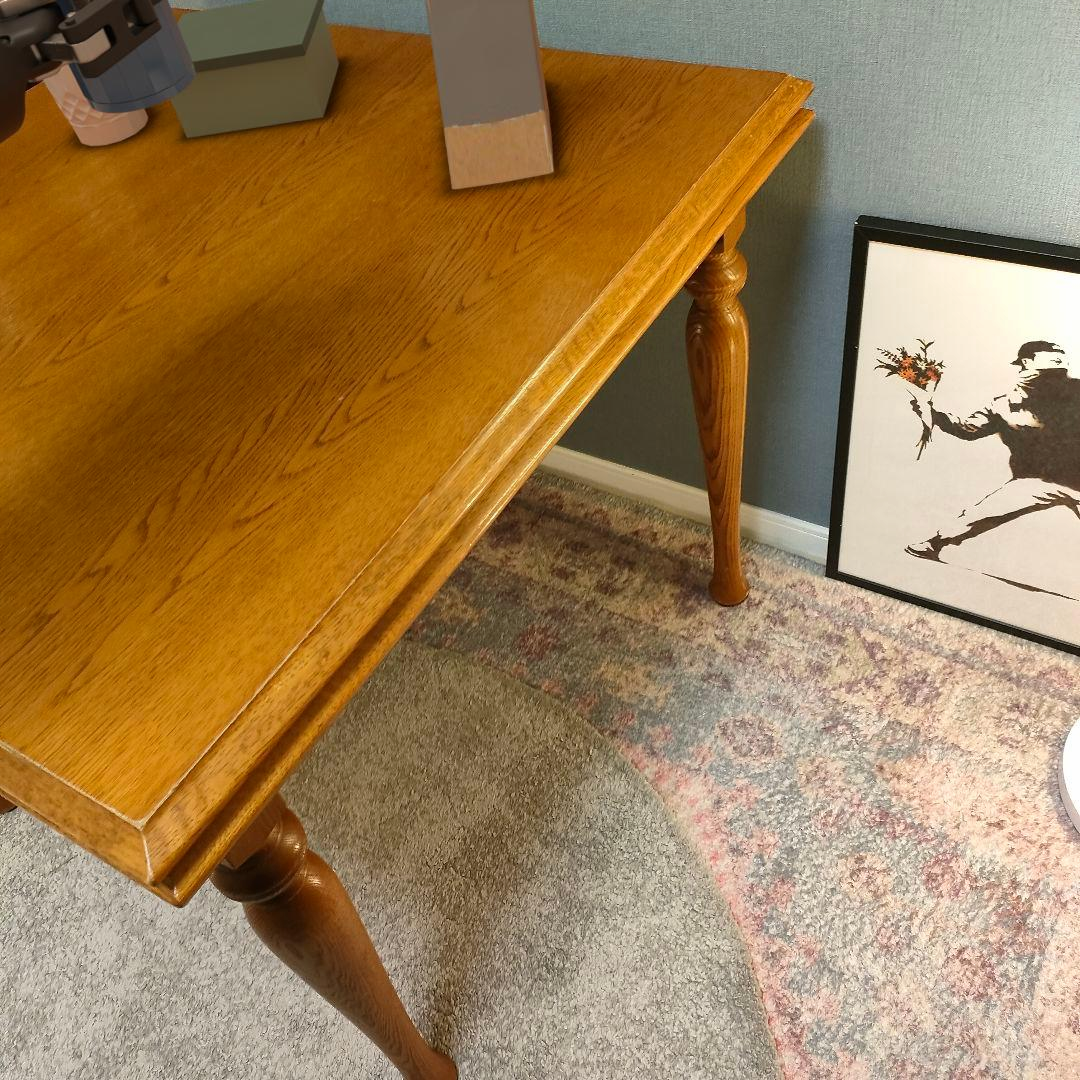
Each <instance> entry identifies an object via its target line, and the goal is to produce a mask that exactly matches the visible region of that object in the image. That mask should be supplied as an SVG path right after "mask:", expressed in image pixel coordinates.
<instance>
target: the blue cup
mask: <svg viewBox="0 0 1080 1080" xmlns="http://www.w3.org/2000/svg"><path fill="white" fill-rule="evenodd" d="M92 1H94V0H90V3H91V2H92ZM56 2H57V3H58V4H59V6H60V7H61V9H62V11H63V13H64V15H65V17H66V19H68V18H67V15H68V14H69V13H71V12H74V10H73V8H72V6H71V4H70V1H69V0H56ZM153 7H154V10H155V12H156V15H157V17H158V19H159V22H160V24H161V27H162V28H161V29H160V30H159V31H158V32H157V33H155V34H154V35H153V36H152V37H150V38H149V39H148V40H146V41H145V42H144V43H142V44H141V45H140V46H139V47H137V48H136V49H135V50H133V51H132V52H131V53H129V54H128V55H127V56H126V57H124V58H123V59H122V60H120V61H119V62H118V63H116V64H115V65H114V66H113V67H111V68H110V69H109V70H107V71H106V72H105V73H103V74H102V75H100V76H99V77H97V78H90V79H86V78H83V76H82V74H81V72H80V70H79V68H78V66H77V64H76V62H73V63H70V64H68V65H69V67H70V69H71V71H72V73H73V75H74V77H75V79H76V81H77V83H78V85H79V87H80V89H81V91H82V93H83V95H84V97H85V98H86V100H87V102H88V104H89V105H90V107H91V108H93V109H94V110H96V111H99V112H103V113H125V112H131V111H137V110H141V109H145V110H146V109H147V108H151V107H154V106H157V105H160V104H161V103H164V102H166V101H168V100H170V98H172V97H174V96H176V95H177V94H179V93H180V92H182V91H183V90H184V89H186V88H187V87H188V86H189V85H190V84H191V83H192V81H193V80H194V78H195V75H196V70H195V67H194V65H193V62H192V59H191V57H190V54H189V52H188V49H187V47H186V44H185V42H184V39H183V37H182V34H181V32H180V29H179V27H178V24H177V23H178V21H177V19H176V17H175V14H174V12H173V10H172V7H171V4H170V1H169V0H162V1H160V2H159V3H157V4H156V5H154V6H153Z"/></svg>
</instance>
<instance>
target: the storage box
mask: <svg viewBox="0 0 1080 1080" xmlns="http://www.w3.org/2000/svg"><path fill="white" fill-rule="evenodd" d="M324 3H325V0H256V1H251V2H244V3H237V4H233V5H226V6H220V7H214V8H208V9H203V10H197V11H191V12H184V13H182V15H180V18H179V19H178V21H177V24H178V27H179V29H180V32H181V34H182V37H183V39H184V42H185V44H186V47H187V49H188V52H189V54H190V57H191V59H192V62H193V65H194V67H195V70H196V75H195V78H194V80H193V81H192V83H191V84H190V85H189V86H188V87H187V88H186V89H184V90H183V91H182V92H180V93H179V94H177V95H176V96H174V97H172V98H170V99H169V100H170V102H171V104H172V106H173V109H174V110H175V113H176V116H177V118H178V120H179V123H180V125H181V126H182V129H183V131H184V134H185V136H186V138H187V139H190V138H197V137H203V136H209V135H217V134H223V133H230V132H236V131H241V130H249V129H255V128H261V127H269V126H275V125H281V124H289V123H294V122H295V123H296V122H301V121H307V120H315V119H320V118H324V116H325V114H326V113H325V112H326V109H327V105H328V103H329V99H330V96H331V93H332V89H333V86H334V82H335V78H336V75H337V72H338V69H339V66H340V62H339V59H338V56H337V53H336V49H335V46H334V42H333V39H332V36H331V32H330V30H329V26H328V22H327V19H326V15H325V13H324V9H323V6H324Z"/></svg>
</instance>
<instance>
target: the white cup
mask: <svg viewBox="0 0 1080 1080" xmlns="http://www.w3.org/2000/svg"><path fill="white" fill-rule="evenodd" d="M42 82H43V83H44V85H45V87H46V88H47V90H48V92H49V93H50V95H51V96H52V97H53V100H54V102H55V103H56V105H57V106H58V108H59V110H60V111H61V113H62V114H63V116H64V118H66V120H68V123H69V124H70V125H71V127H72V129H73V131H74V133H75V134H76V136H77V138H78V140H79V142H80V143H81V144H83V145H86V146H90V147H98V146H107V145H112V144H115V143H118V142H122V141H123V140H126V139H129V138H130V137H132V136H134V135H136V134H137V133H138V132H140V131H141V130H142V129H143V128H145V126H146V125H147V122H148V120H149V116H148V114H147V111H146V108H145V109H141V110H137V111H131V112H125V113H103V112H99V111H96V110H94V109H93V108H91V107H90V105H89V104H88V102H87V100H86V98H85V97H84V95H83V93H82V91H81V89H80V87H79V85H78V83H77V81H76V79H75V77H74V75H73V73H72V71H71V69H70V67H69V65H68V64H67V65H65V66H63V67H61V69H60V71H59V73H58V74H56V75H54V76H51V77H49V78H46V79H44V80H42Z"/></svg>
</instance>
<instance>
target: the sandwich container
mask: <svg viewBox="0 0 1080 1080" xmlns="http://www.w3.org/2000/svg"><path fill="white" fill-rule="evenodd" d="M424 1H425V2H424V3H425V10H426V15H427V23H428V30H429V38H430V43H431V50H432V57H433V58H432V59H433V65H434V70H435V71H434V72H435V78H436V84H437V92H438V99H439V106H440V111H441V113H440V114H441V119H442V120H441V121H442V126H443V127H442V128H443V132H444V133H443V134H444V141H445V147H446V154H447V155H446V156H447V162H448V169H449V177H450V183H451V189H452V190H460V189H467V188H473V187H481V186H487V185H494V184H500V183H501V184H502V183H507V182H511V181H518V180H523V179H529V178H533V177H538V176H544V175H549V174H552V173H554V172H555V169H554V167H555V166H554V153H553V152H554V151H553V138H552V128H551V121H550V120H551V119H550V107H549V101H548V95H547V89H546V82H545V74H544V68H543V67H544V66H543V62H542V55H541V48H540V41H539V34H538V28H537V27H538V26H537V20H536V14H535V13H536V12H535V7H534V1H533V0H424Z"/></svg>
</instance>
